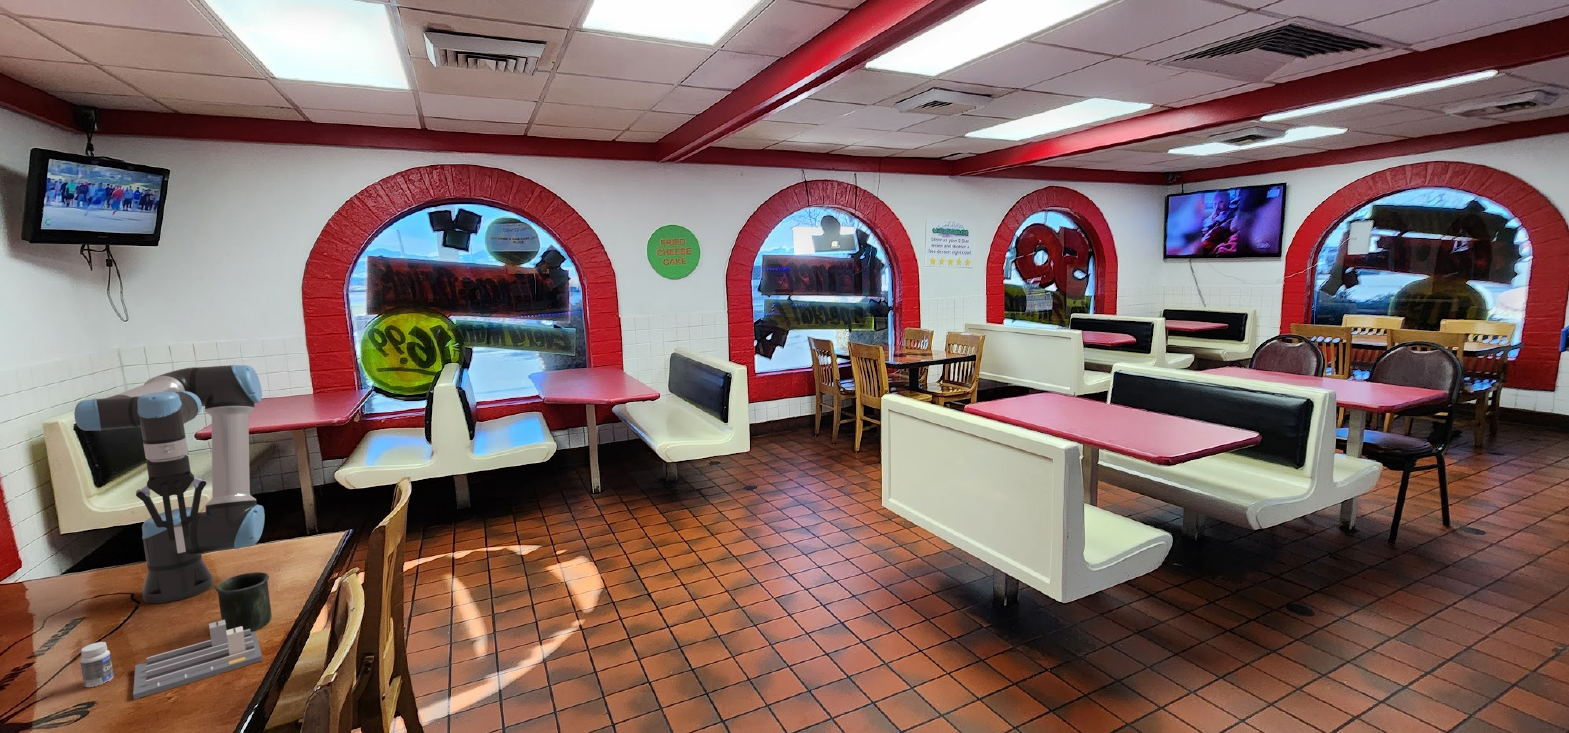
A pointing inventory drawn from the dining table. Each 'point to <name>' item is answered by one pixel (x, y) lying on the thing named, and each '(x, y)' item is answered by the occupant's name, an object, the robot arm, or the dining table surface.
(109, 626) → the dining table surface
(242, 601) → the mug
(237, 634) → the fader cap
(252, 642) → the console
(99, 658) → the pill bottle
